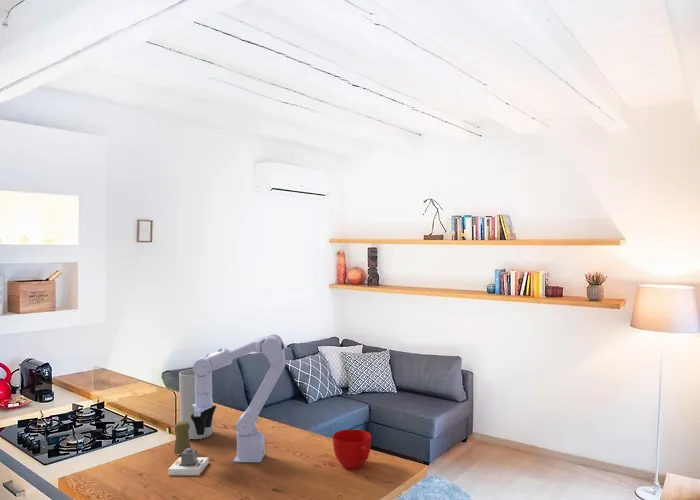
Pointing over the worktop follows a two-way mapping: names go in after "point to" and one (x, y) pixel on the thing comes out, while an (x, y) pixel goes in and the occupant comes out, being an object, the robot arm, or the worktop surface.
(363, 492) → the worktop surface
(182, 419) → the cylinder vase
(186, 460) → the plug
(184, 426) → the olive tapered pepper mill
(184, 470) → the socket plate
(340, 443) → the ceramic cup
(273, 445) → the worktop surface
